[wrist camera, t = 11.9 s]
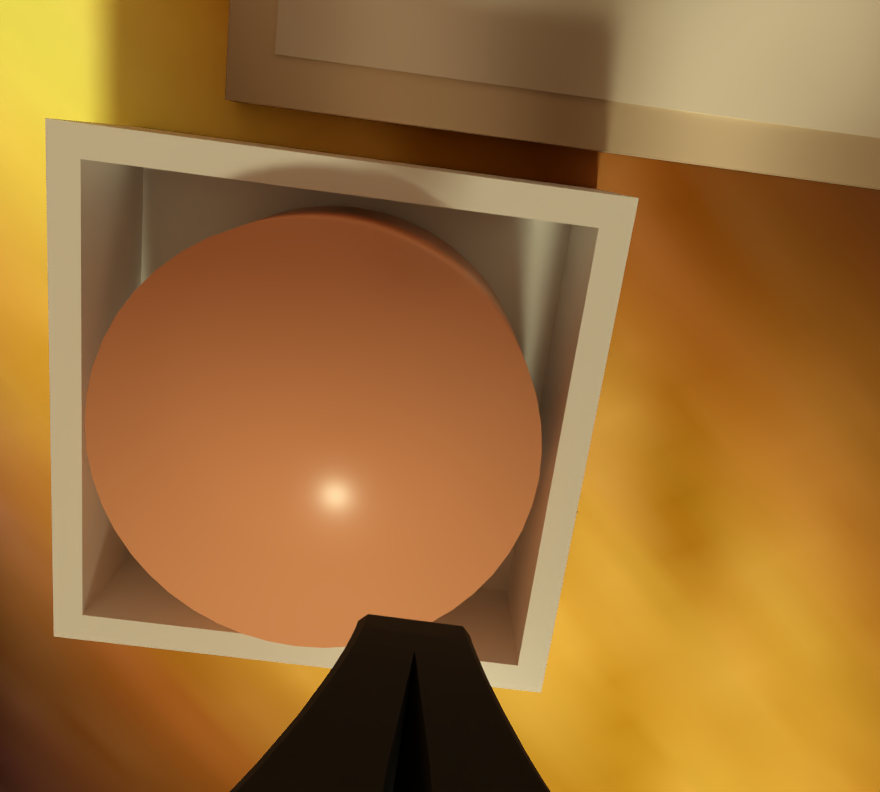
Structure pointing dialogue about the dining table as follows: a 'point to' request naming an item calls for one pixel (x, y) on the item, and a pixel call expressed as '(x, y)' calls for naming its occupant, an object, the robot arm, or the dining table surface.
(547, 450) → the open square beige box
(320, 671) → the dining table surface
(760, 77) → the board
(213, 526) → the orange dome
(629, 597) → the dining table surface
